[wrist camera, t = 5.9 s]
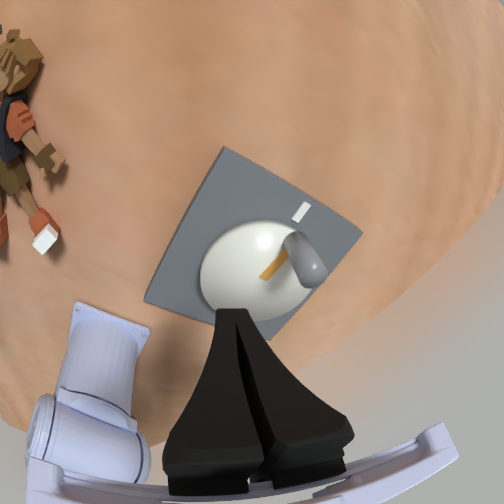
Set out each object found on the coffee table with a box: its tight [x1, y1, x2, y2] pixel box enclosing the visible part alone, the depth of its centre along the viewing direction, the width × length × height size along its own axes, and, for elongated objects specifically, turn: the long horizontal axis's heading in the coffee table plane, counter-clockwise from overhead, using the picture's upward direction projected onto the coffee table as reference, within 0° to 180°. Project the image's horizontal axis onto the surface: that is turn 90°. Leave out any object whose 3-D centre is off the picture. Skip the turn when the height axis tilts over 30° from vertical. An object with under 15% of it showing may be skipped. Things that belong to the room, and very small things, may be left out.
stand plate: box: [144, 146, 363, 341], centre depth 23 cm, size 14×13×1 cm
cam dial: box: [200, 220, 328, 322], centre depth 20 cm, size 9×9×5 cm
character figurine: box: [0, 25, 66, 255], centre depth 12 cm, size 10×18×4 cm, turn 172°
